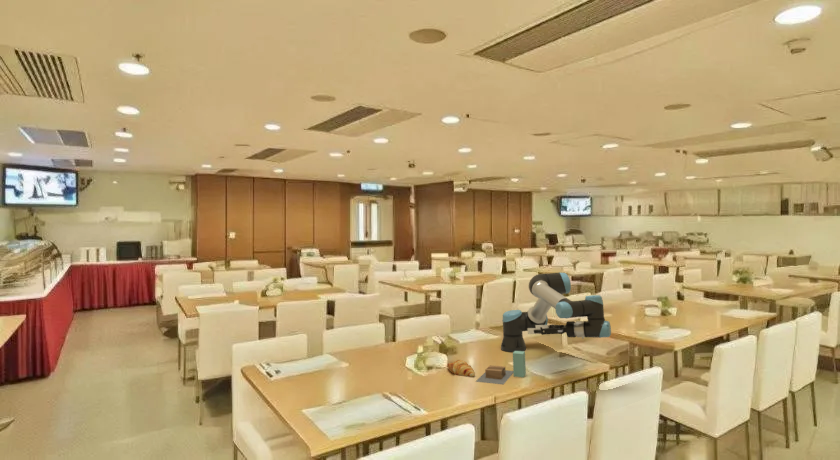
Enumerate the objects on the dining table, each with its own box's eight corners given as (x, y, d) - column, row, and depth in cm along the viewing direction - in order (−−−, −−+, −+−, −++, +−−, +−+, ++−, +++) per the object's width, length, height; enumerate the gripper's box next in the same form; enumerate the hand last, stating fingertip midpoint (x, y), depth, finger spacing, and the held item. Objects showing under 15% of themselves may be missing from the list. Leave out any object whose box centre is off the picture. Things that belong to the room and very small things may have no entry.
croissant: (478, 383, 234) (483, 368, 236) (465, 378, 229) (470, 362, 231) (452, 373, 251) (456, 359, 254) (438, 368, 246) (444, 353, 248)
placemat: (488, 369, 246) (488, 368, 246) (514, 371, 240) (514, 371, 240) (475, 382, 226) (475, 381, 226) (503, 385, 220) (503, 384, 220)
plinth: (490, 373, 238) (490, 365, 238) (505, 374, 235) (505, 366, 235) (485, 377, 231) (485, 369, 231) (501, 379, 228) (500, 371, 228)
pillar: (516, 374, 236) (515, 350, 236) (525, 375, 234) (524, 351, 234) (513, 377, 231) (512, 353, 231) (523, 378, 229) (522, 354, 229)
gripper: (570, 341, 209) (524, 340, 219) (581, 334, 230) (539, 333, 241) (569, 324, 210) (523, 324, 220) (580, 318, 231) (538, 319, 242)
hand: (531, 329), depth 231 cm, fingers open, 13 cm apart
